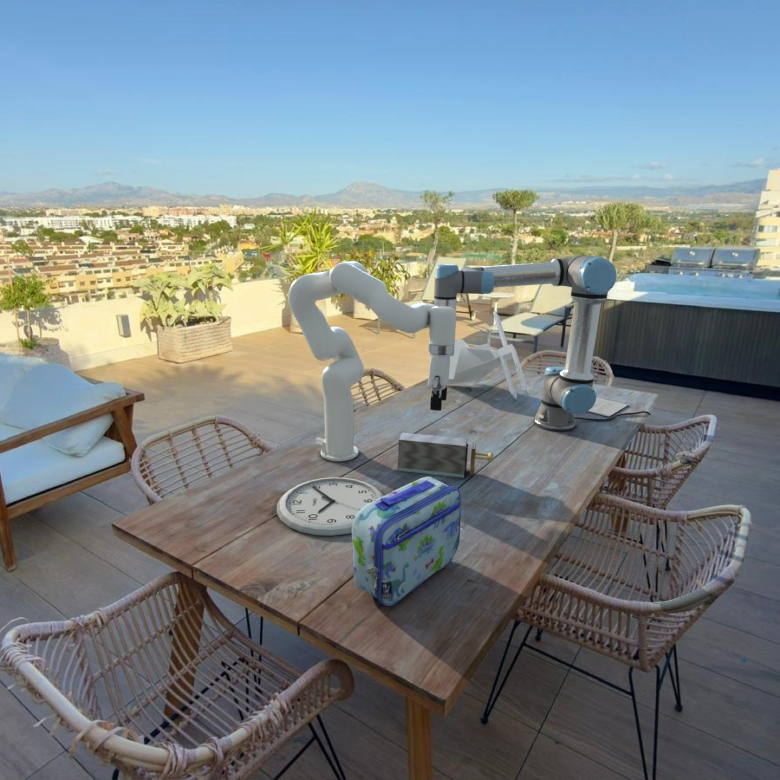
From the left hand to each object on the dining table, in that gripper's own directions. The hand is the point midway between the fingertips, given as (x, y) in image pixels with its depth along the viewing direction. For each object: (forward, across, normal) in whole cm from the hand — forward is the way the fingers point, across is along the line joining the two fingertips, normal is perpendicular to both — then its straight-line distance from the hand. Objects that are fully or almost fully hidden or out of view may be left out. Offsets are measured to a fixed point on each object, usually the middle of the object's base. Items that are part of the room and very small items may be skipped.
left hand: (438, 404), depth 157 cm
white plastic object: (+22, -87, +6) cm, 90 cm away
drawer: (+21, -1, +5) cm, 22 cm away
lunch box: (+22, +53, +3) cm, 58 cm away
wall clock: (+22, +29, -23) cm, 43 cm away
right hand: (-3, -27, -4) cm, 27 cm away
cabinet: (+22, -1, -1) cm, 22 cm away
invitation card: (+22, -82, +58) cm, 103 cm away
